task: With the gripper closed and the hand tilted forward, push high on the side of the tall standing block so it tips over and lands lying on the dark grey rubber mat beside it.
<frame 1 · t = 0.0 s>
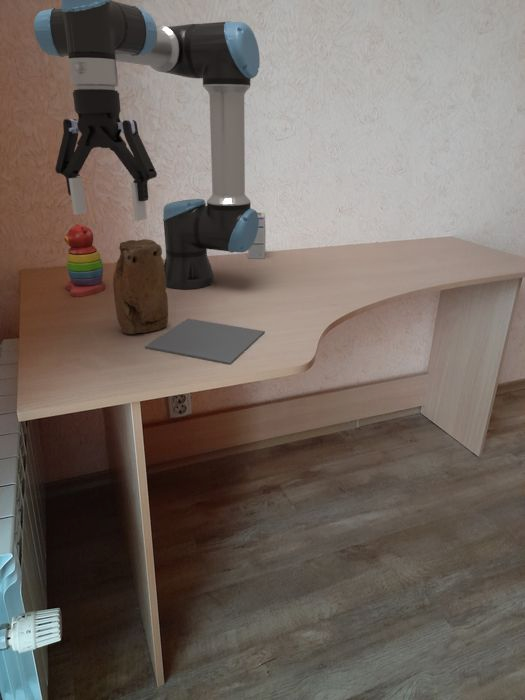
hand: (109, 216, 98), 28 cm above the table, tool pointing down, fingers open, 13 cm apart
block: (143, 329, 122), on the table
stacking bear: (86, 290, 148), on the table
syrup box: (256, 257, 183), on the table
mat: (207, 340, 117), on the table
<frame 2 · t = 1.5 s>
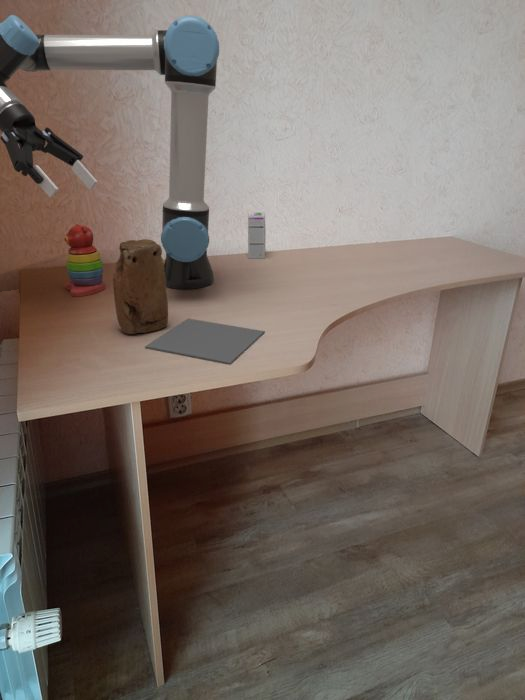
hand: (75, 189, 119), 30 cm above the table, tool tilted 45°, fingers open, 13 cm apart
nothing on the table moved.
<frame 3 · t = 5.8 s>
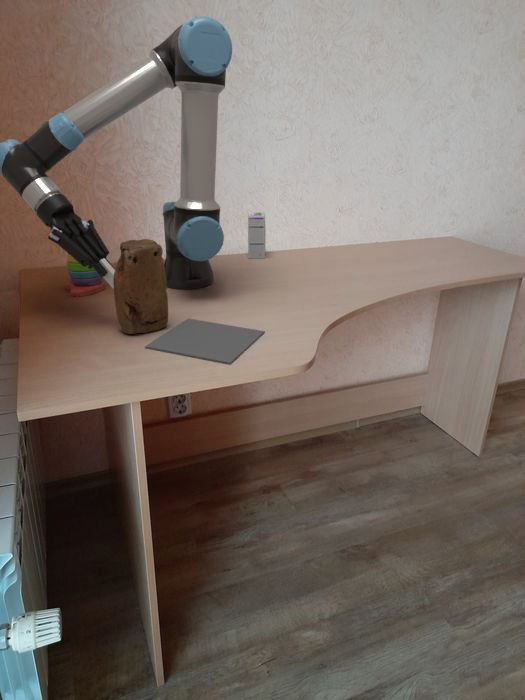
hand: (118, 284, 120), 10 cm above the table, tool tilted 45°, fingers closed
block: (143, 329, 122), on the table, touching gripper
everything else where it was.
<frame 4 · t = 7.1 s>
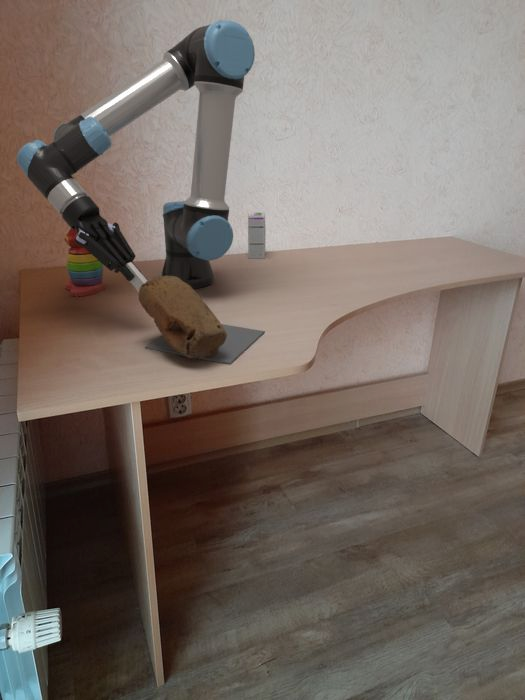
hand: (145, 289, 117), 10 cm above the table, tool tilted 45°, fingers closed
block: (158, 287, 114), point 11 cm above the table, touching mat
everything else where it was.
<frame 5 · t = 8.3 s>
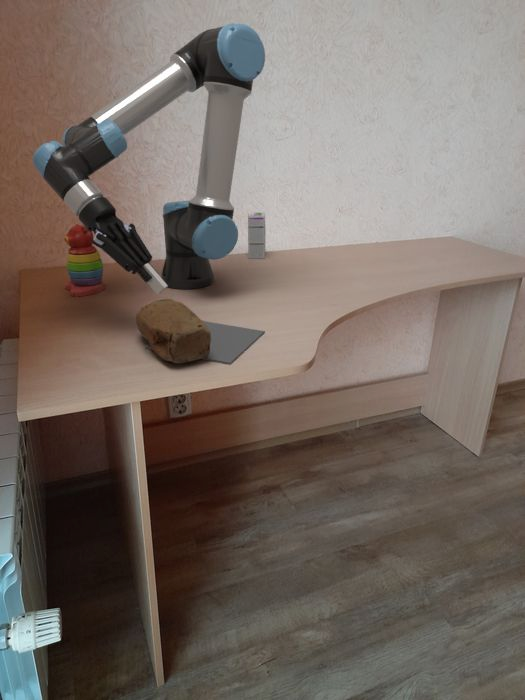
hand: (162, 290, 116), 10 cm above the table, tool tilted 45°, fingers closed
block: (157, 314, 119), point 4 cm above the table, touching mat
everything else where it was.
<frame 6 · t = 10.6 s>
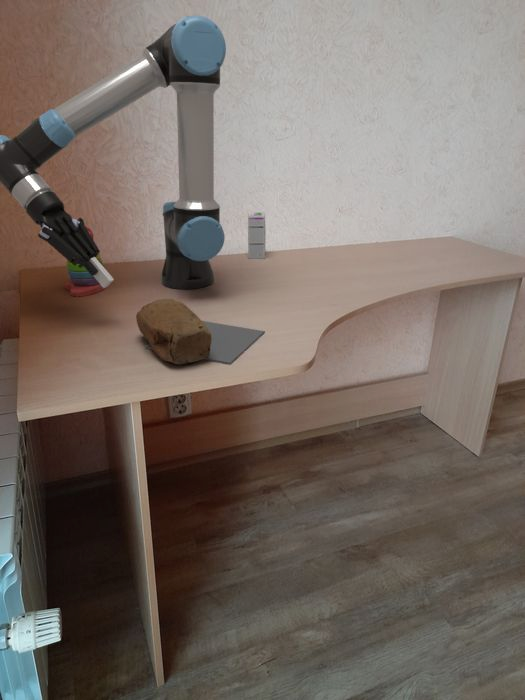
hand: (108, 283, 119), 10 cm above the table, tool tilted 45°, fingers closed
nothing on the table moved.
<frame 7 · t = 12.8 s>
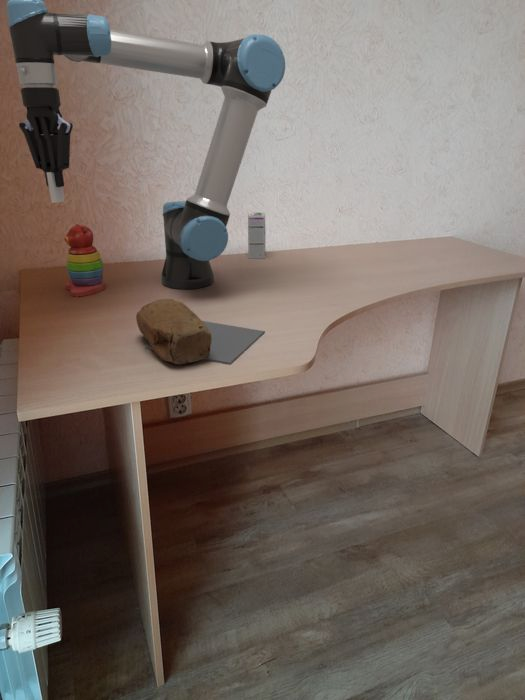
hand: (58, 201, 122), 27 cm above the table, tool pointing down, fingers closed
nothing on the table moved.
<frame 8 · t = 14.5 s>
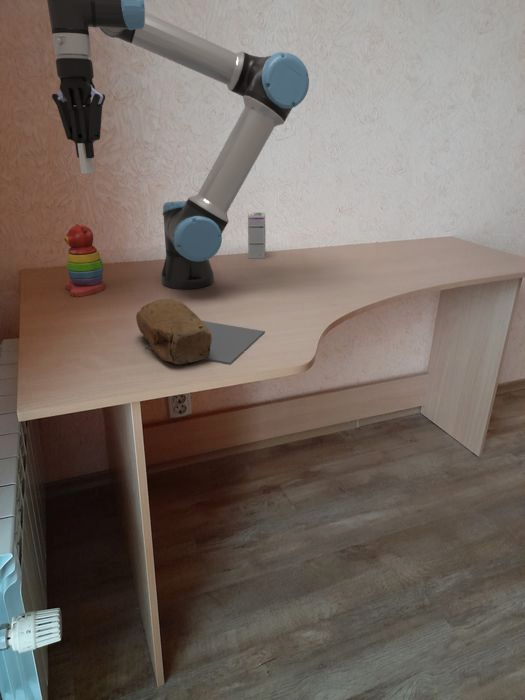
hand: (87, 172, 124), 32 cm above the table, tool pointing down, fingers closed
nothing on the table moved.
at the end: block tilted 92°; block inside the target area (12.6 cm from its centre), point 4.4 cm above the table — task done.
